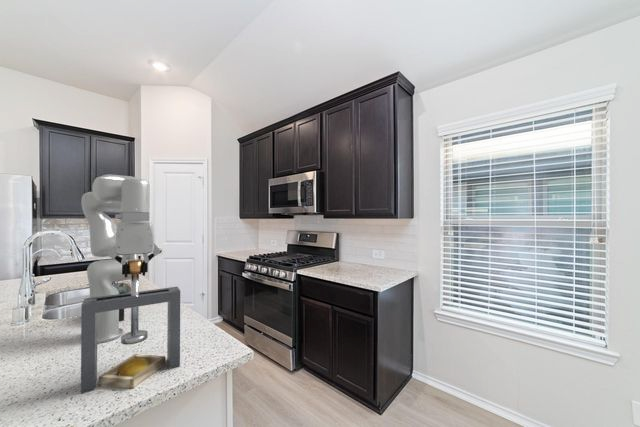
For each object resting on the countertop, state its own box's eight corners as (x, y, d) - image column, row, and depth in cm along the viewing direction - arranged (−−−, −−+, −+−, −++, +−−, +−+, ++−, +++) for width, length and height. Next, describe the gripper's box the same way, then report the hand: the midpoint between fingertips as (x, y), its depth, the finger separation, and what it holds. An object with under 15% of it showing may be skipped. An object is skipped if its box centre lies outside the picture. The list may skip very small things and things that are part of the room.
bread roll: (121, 386, 81) (121, 372, 81) (117, 373, 88) (118, 360, 88) (153, 375, 87) (153, 362, 87) (148, 363, 93) (148, 352, 93)
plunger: (121, 338, 88) (121, 259, 88) (147, 332, 92) (147, 258, 92) (120, 346, 82) (121, 263, 83) (148, 340, 86) (148, 260, 87)
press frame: (84, 381, 83) (84, 298, 83) (176, 357, 97) (177, 286, 97) (80, 394, 77) (81, 304, 77) (179, 366, 91) (180, 291, 92)
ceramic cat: (127, 320, 131) (128, 278, 131) (110, 324, 126) (111, 280, 126) (117, 311, 144) (117, 272, 144) (101, 314, 139) (101, 274, 139)
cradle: (98, 385, 81) (98, 376, 81) (134, 361, 95) (134, 353, 95) (133, 388, 80) (133, 379, 80) (165, 363, 93) (165, 356, 93)
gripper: (100, 218, 80) (100, 281, 80) (166, 218, 89) (166, 274, 89) (103, 218, 86) (102, 276, 86) (164, 217, 95) (164, 270, 95)
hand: (135, 275), depth 87 cm, fingers closed on plunger, 4 cm apart
